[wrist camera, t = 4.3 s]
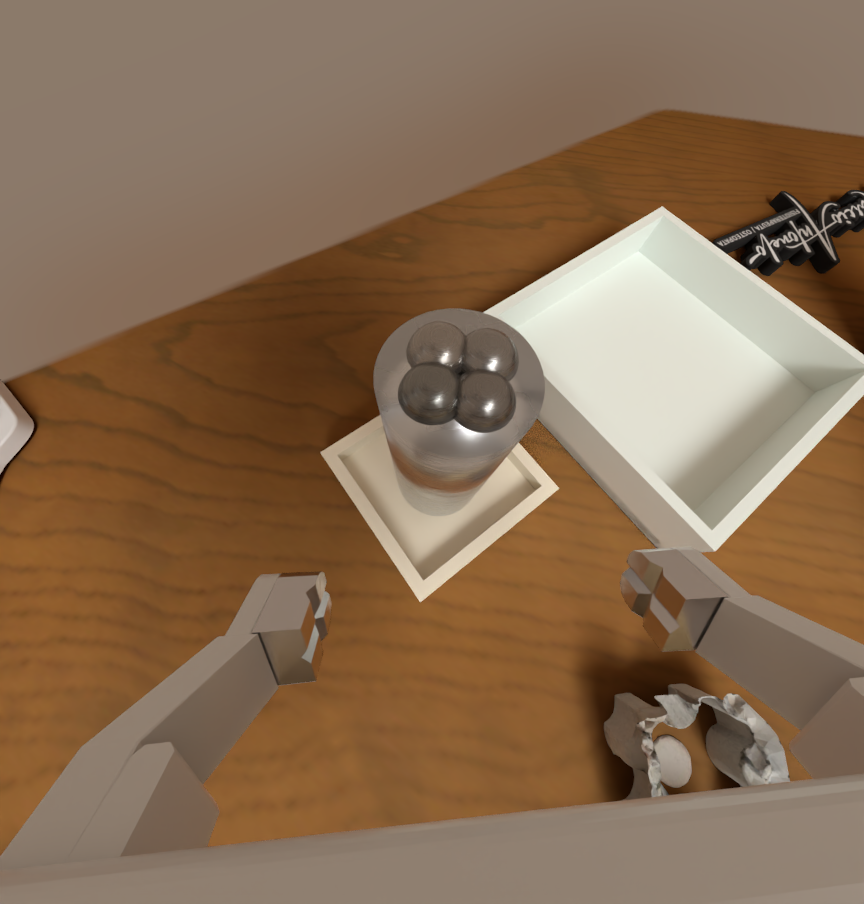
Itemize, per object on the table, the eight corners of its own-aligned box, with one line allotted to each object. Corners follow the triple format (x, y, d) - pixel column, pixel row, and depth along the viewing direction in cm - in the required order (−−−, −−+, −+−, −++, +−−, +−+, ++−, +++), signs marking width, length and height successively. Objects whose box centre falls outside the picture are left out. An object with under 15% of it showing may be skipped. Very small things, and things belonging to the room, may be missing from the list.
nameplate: (870, 155, 36) (953, 210, 33) (853, 171, 37) (930, 225, 34) (694, 225, 30) (774, 298, 28) (682, 241, 32) (757, 311, 29)
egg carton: (589, 687, 19) (634, 718, 15) (709, 674, 19) (782, 701, 15) (643, 953, 15) (720, 1086, 11) (789, 929, 15) (911, 1049, 12)
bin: (473, 349, 26) (482, 312, 22) (632, 250, 31) (662, 206, 27) (662, 553, 21) (715, 551, 17) (817, 399, 26) (886, 371, 22)
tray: (328, 461, 22) (320, 452, 20) (450, 383, 25) (453, 368, 23) (420, 598, 20) (420, 602, 18) (547, 494, 22) (559, 488, 20)
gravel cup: (381, 466, 21) (332, 339, 9) (445, 423, 23) (476, 262, 11) (429, 533, 20) (446, 487, 8) (494, 483, 21) (595, 378, 9)
